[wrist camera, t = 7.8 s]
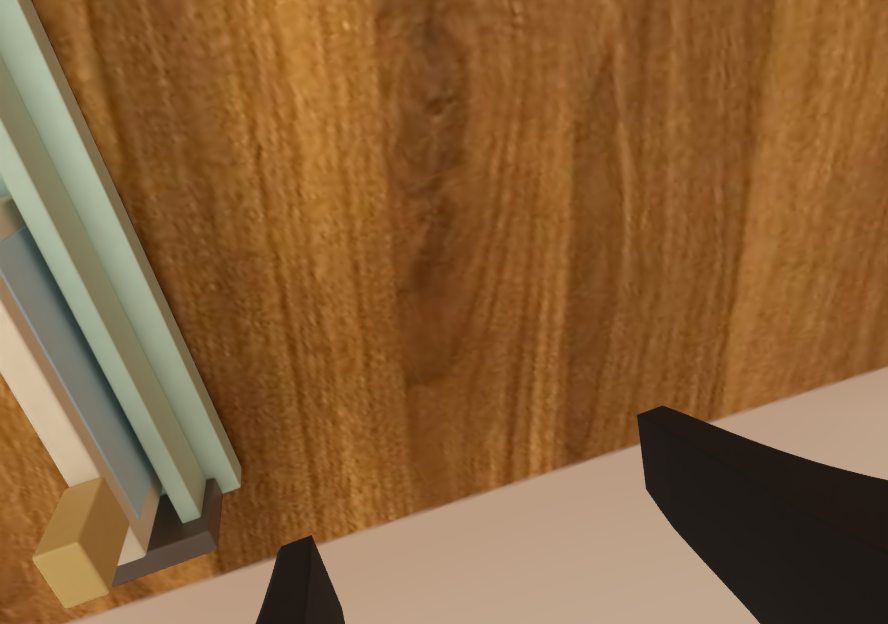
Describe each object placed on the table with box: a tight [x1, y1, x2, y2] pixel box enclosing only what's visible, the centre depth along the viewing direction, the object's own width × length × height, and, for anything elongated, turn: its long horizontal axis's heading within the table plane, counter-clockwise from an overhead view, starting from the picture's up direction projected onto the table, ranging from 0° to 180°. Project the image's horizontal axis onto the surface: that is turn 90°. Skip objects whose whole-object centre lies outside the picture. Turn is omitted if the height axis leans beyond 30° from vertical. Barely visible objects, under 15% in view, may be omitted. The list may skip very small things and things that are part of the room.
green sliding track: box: [0, 0, 242, 587], centre depth 16 cm, size 21×4×4 cm, turn 13°
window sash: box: [0, 194, 163, 609], centre depth 16 cm, size 10×1×6 cm, turn 13°
